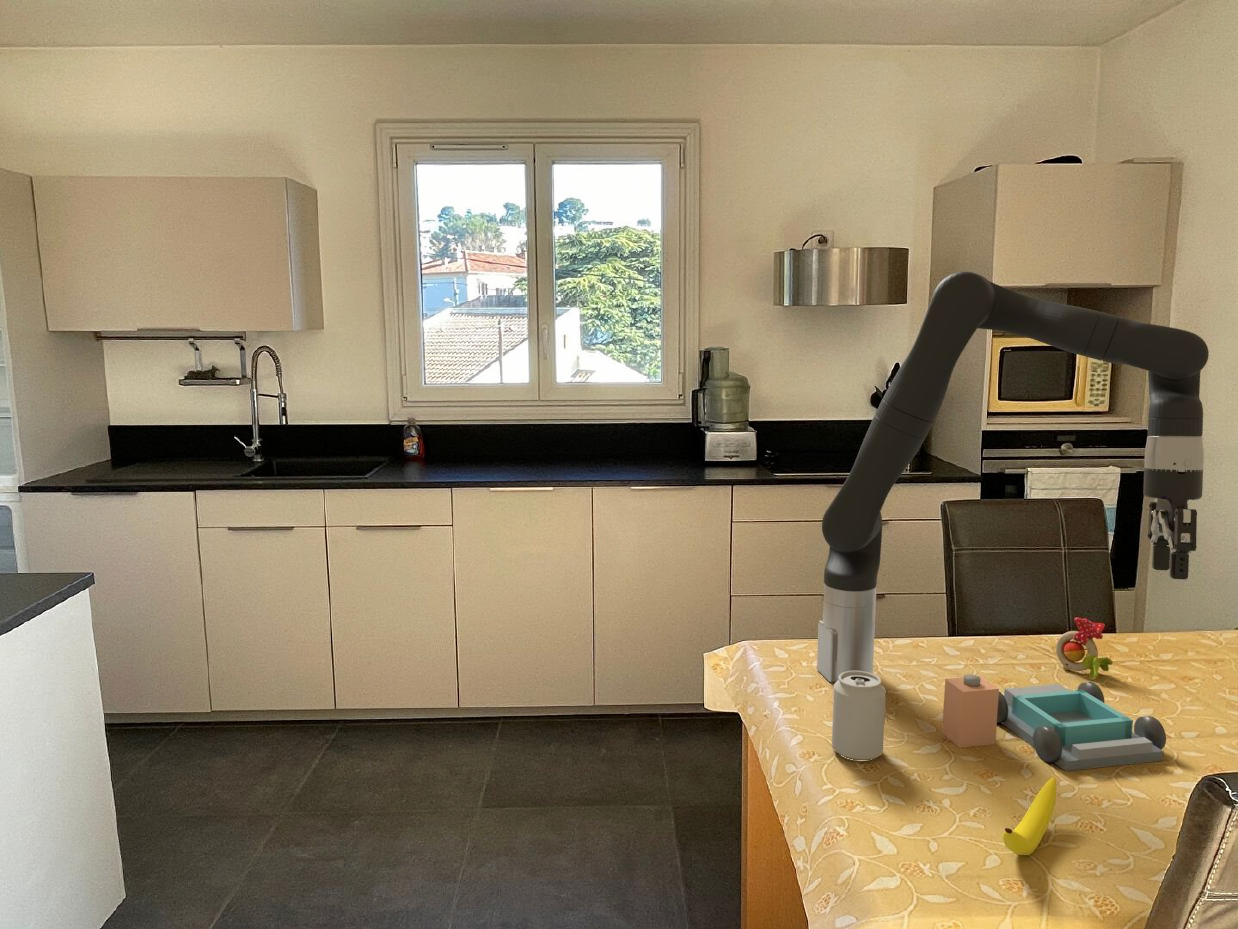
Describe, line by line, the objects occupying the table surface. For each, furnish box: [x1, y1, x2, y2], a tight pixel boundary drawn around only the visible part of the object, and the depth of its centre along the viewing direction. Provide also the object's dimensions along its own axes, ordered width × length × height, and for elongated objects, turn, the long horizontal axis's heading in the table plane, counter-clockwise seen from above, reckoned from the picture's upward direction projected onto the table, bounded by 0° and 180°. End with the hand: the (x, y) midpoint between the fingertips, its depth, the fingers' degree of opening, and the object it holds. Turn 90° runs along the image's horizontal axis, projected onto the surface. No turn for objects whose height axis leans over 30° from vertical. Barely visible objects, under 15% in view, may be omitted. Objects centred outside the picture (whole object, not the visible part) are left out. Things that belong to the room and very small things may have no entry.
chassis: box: [997, 681, 1167, 772], centre depth 140 cm, size 18×20×5 cm
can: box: [831, 671, 887, 760], centre depth 134 cm, size 8×8×12 cm
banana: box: [1002, 776, 1057, 856], centre depth 112 cm, size 3×19×6 cm, turn 139°
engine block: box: [941, 674, 1000, 748], centre depth 139 cm, size 6×5×10 cm
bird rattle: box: [1055, 617, 1113, 681], centre depth 163 cm, size 6×11×9 cm
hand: (1169, 574), depth 135 cm, fingers open, 8 cm apart
